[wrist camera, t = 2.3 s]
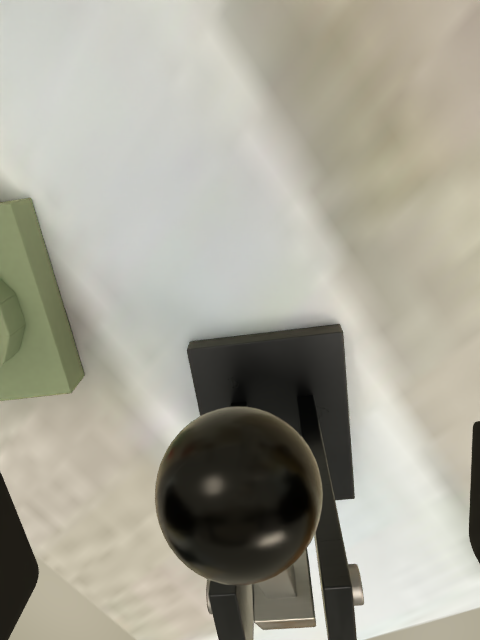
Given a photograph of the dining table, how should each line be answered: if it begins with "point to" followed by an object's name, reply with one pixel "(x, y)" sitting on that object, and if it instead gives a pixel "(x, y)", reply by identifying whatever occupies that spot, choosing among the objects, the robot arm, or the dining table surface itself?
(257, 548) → the lever
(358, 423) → the dining table surface
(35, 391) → the control block
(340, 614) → the bracket
